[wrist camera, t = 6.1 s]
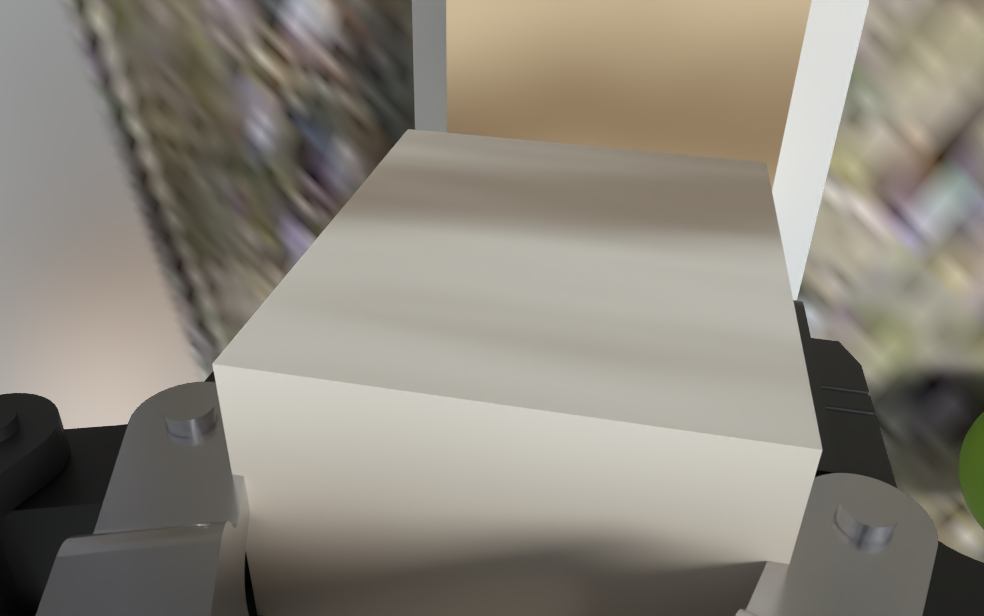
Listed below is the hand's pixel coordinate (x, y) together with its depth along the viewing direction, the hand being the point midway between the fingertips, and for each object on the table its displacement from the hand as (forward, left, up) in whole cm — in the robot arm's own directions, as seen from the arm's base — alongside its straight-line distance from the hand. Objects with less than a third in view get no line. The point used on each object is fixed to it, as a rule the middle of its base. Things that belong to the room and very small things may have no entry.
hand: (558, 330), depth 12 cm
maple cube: (0, 0, -1) cm, 1 cm away
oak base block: (0, 0, -14) cm, 14 cm away
